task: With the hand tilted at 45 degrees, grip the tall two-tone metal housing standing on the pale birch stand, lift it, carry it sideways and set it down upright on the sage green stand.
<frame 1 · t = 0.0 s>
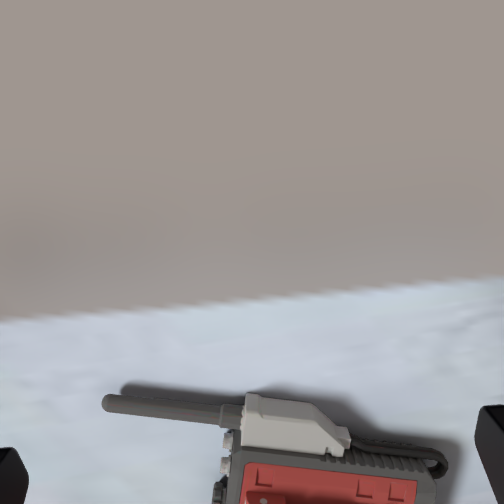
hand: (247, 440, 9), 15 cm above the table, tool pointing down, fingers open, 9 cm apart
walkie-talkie: (270, 454, 27), on the table
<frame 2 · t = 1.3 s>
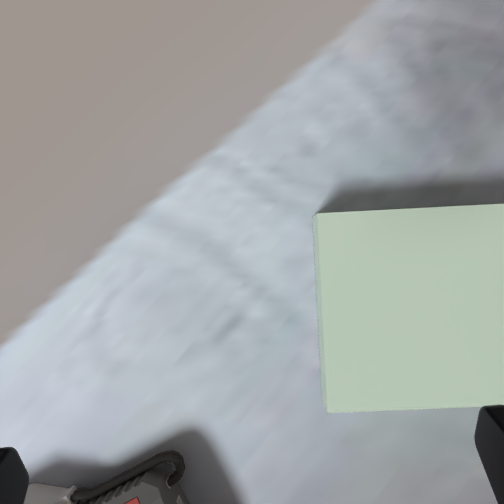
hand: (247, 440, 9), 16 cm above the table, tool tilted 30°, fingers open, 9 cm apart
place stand: (409, 303, 24), on the table
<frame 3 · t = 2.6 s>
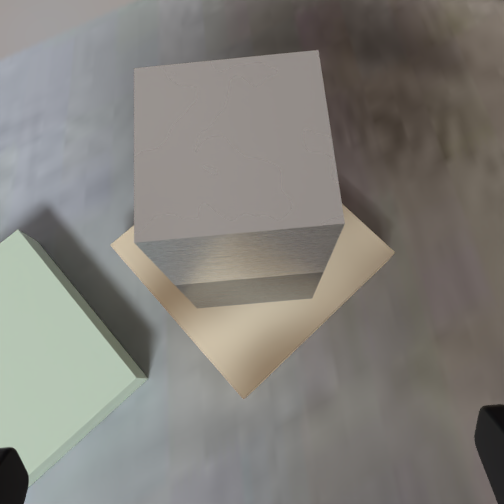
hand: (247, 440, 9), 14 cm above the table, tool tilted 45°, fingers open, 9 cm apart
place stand: (12, 372, 23), on the table
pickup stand: (251, 259, 24), on the table
housing: (250, 248, 22), point 2 cm above the table, touching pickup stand
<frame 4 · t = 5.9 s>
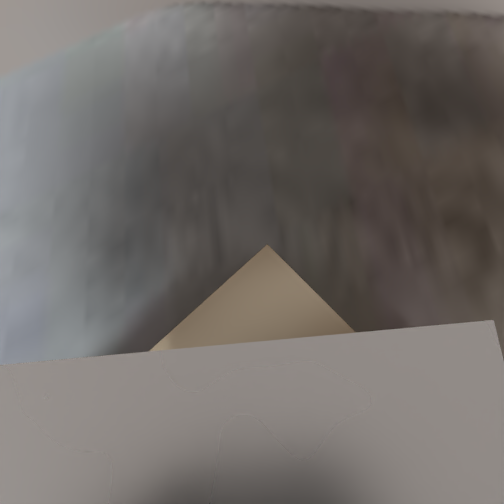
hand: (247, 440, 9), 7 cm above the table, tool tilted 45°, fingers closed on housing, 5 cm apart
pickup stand: (262, 461, 15), on the table
housing: (260, 472, 13), point 2 cm above the table, touching gripper, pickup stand
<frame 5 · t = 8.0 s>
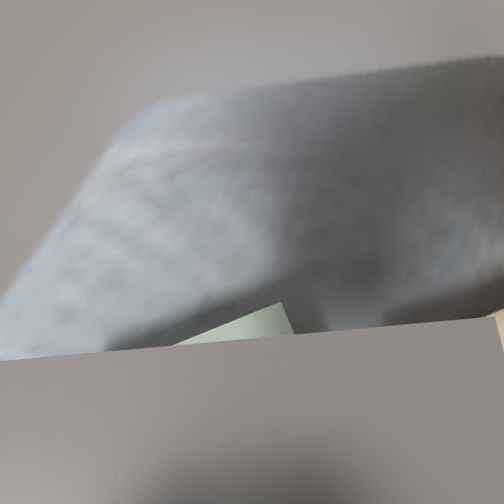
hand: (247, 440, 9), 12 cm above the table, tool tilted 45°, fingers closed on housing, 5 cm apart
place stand: (220, 452, 20), on the table
housing: (261, 470, 13), point 7 cm above the table, touching gripper
when the fingers open (8 cm above the table, at t = 9.6 s): housing drops 1 cm, resting on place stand.
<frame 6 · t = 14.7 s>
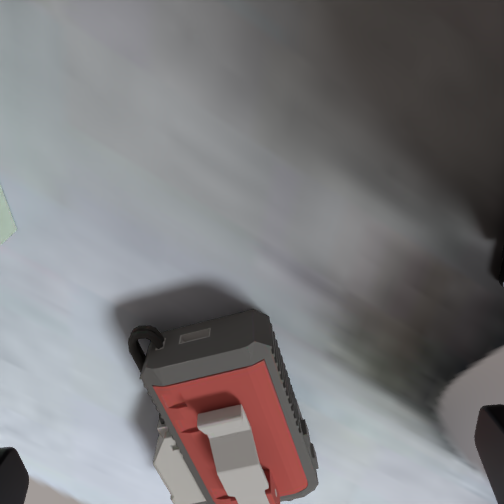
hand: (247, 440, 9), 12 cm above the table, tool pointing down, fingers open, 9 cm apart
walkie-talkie: (236, 433, 27), on the table
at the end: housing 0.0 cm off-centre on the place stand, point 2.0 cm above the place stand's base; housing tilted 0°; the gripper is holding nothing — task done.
